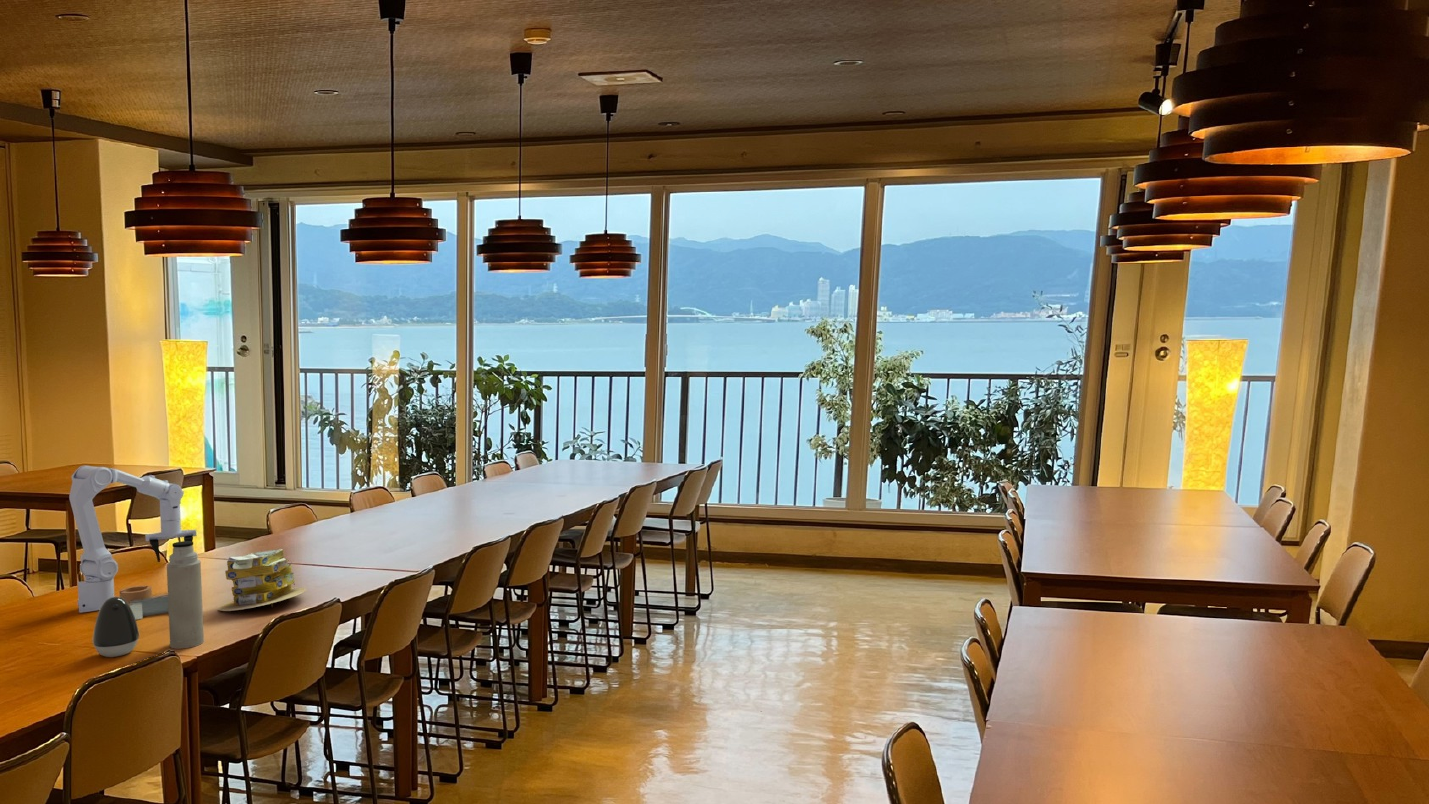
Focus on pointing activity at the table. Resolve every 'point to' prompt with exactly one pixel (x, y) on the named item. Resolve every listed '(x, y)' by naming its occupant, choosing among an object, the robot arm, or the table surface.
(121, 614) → the grey white egg device
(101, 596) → the robot arm
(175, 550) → the thermos bottle
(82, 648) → the table surface
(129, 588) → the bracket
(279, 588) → the stacked boxes on plate
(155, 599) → the bar
